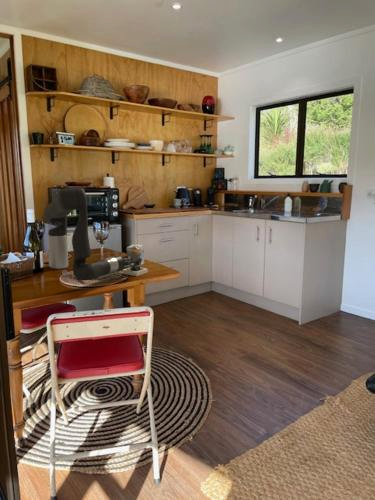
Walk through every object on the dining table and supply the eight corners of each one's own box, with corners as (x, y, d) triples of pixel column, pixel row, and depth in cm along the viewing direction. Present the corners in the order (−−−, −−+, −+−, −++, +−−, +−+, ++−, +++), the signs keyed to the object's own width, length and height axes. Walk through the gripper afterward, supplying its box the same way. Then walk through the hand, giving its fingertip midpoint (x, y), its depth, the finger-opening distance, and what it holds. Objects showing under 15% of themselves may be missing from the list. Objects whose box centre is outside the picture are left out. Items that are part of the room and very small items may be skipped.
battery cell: (128, 273, 190) (128, 246, 187) (134, 271, 194) (134, 245, 191) (136, 274, 187) (135, 247, 185) (142, 272, 191) (141, 246, 189)
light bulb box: (138, 267, 202) (138, 247, 200) (126, 266, 203) (126, 247, 201) (144, 263, 212) (144, 244, 210) (133, 262, 214) (133, 243, 212)
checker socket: (122, 273, 189) (122, 269, 189) (134, 270, 197) (133, 266, 196) (136, 276, 185) (136, 272, 184) (147, 272, 192) (147, 268, 192)
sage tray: (80, 275, 185) (80, 270, 184) (99, 269, 196) (99, 265, 195) (99, 279, 178) (99, 273, 178) (118, 273, 189) (118, 268, 189)
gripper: (123, 258, 171) (145, 253, 184) (100, 255, 178) (123, 249, 191) (123, 274, 172) (145, 268, 186) (100, 270, 179) (123, 264, 193)
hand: (134, 258), depth 188 cm, fingers open, 8 cm apart
